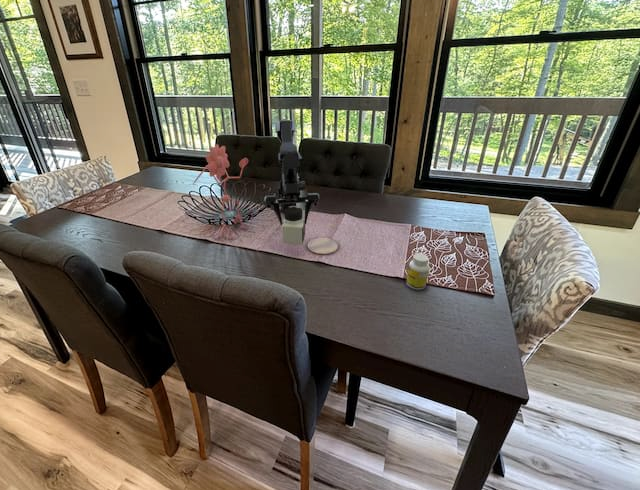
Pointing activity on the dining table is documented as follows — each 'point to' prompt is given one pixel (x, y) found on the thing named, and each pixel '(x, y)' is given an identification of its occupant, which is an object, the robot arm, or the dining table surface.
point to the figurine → (217, 168)
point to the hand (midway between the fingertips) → (293, 224)
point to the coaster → (322, 246)
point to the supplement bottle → (418, 272)
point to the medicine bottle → (293, 226)
